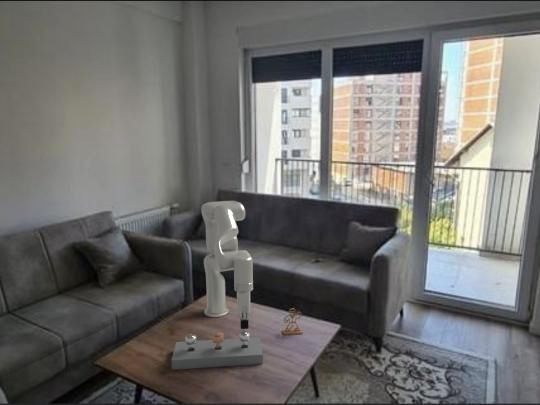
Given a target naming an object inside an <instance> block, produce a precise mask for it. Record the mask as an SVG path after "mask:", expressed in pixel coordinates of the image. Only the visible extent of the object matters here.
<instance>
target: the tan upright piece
mask: <svg viewBox="0 0 540 405" xmlns="http://www.w3.org/2000/svg"><path fill="white" fill-rule="evenodd" d="M297 316H298V317H297ZM301 316H302V312H301V311H297V310H296V309H295V307H293V308H289V310H288V315H286V316H285V317H284V318H283V322H284V323H285V324H287V323H288V324H287V326H286V328H283V329H282V334H283V336H291V335H296V336H297V335H303V329H302V328H300V327H299V326H298V324H297V320H298V319H300V318H301ZM288 317H290V318H291V319H290V318H288ZM294 318H295V319H294ZM290 324H292V325H291V326H290ZM293 324H295V325H296V327H295V326H294V325H293ZM292 327H293V328H292Z"/></svg>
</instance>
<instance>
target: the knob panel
mask: <svg viewBox="0 0 540 405" xmlns="http://www.w3.org/2000/svg"><path fill="white" fill-rule="evenodd" d="M262 348H263V347H262V342H261V337H259V336H258V337H250V340H249V341H247V346H246V347H243V342H242V341H240V340H239V337H238V338H225V339H224V338H223V342H221V343H220V348H219V349H217V348H216V343H214V342H213V339H207V340H203V339H202V340H196V343H195V344H193V350H189V345H187V344H186V343H185V341H176V342H175V346H174V350H173V353H172V357H171V370H187V369H201V368H216V367H231V366H232V367H233V366H248V365H249V366H251V365H263V364H264V357H263V355H264V353H263V349H262Z"/></svg>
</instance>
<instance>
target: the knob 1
mask: <svg viewBox="0 0 540 405" xmlns="http://www.w3.org/2000/svg"><path fill="white" fill-rule="evenodd" d="M184 340H185V341H184V342H185V343H186V344H187V345H189V350H193V344H195V343H196V341H197V335H196V334H195V333H188V334H187V335H185V336H184Z"/></svg>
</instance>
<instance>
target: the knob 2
mask: <svg viewBox="0 0 540 405" xmlns="http://www.w3.org/2000/svg"><path fill="white" fill-rule="evenodd" d="M250 336H251V333H250V332H249V331H248V330H241V331H240V332H239V333H238V338H239V340H240V341H242V342H243V347H246V346H247V341H249V340H250V338H251V337H250Z"/></svg>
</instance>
